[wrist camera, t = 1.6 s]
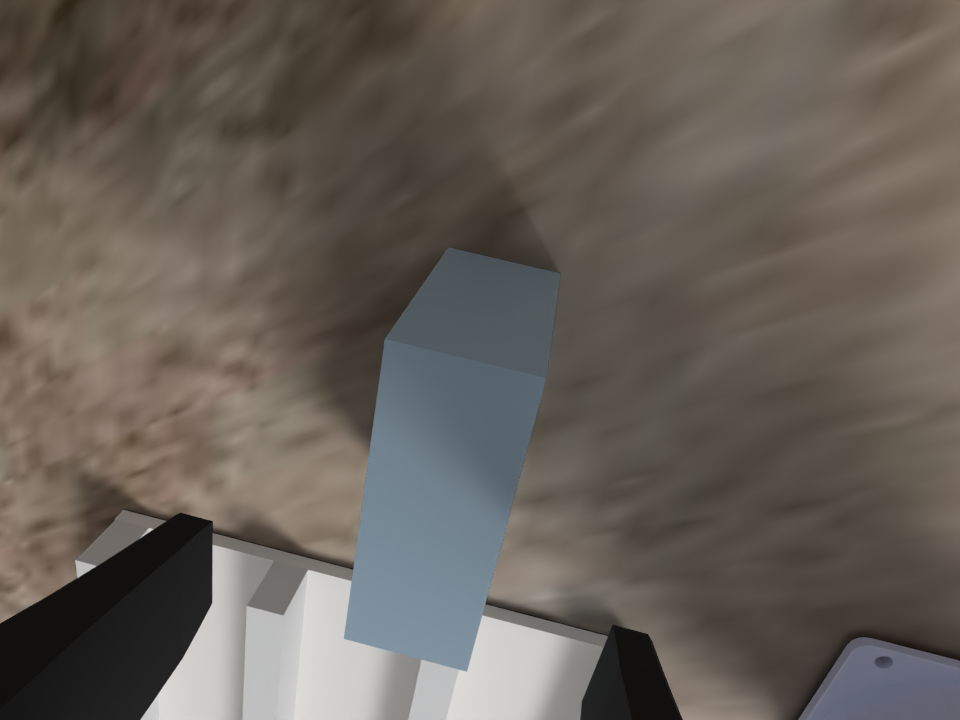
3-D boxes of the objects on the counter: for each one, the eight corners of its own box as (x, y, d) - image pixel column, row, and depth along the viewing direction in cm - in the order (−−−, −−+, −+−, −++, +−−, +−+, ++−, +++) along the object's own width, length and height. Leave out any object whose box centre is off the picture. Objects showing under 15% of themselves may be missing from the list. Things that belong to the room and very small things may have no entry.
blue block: (560, 272, 17) (546, 377, 12) (499, 509, 21) (467, 671, 15) (448, 246, 17) (384, 338, 12) (407, 485, 21) (343, 639, 16)
